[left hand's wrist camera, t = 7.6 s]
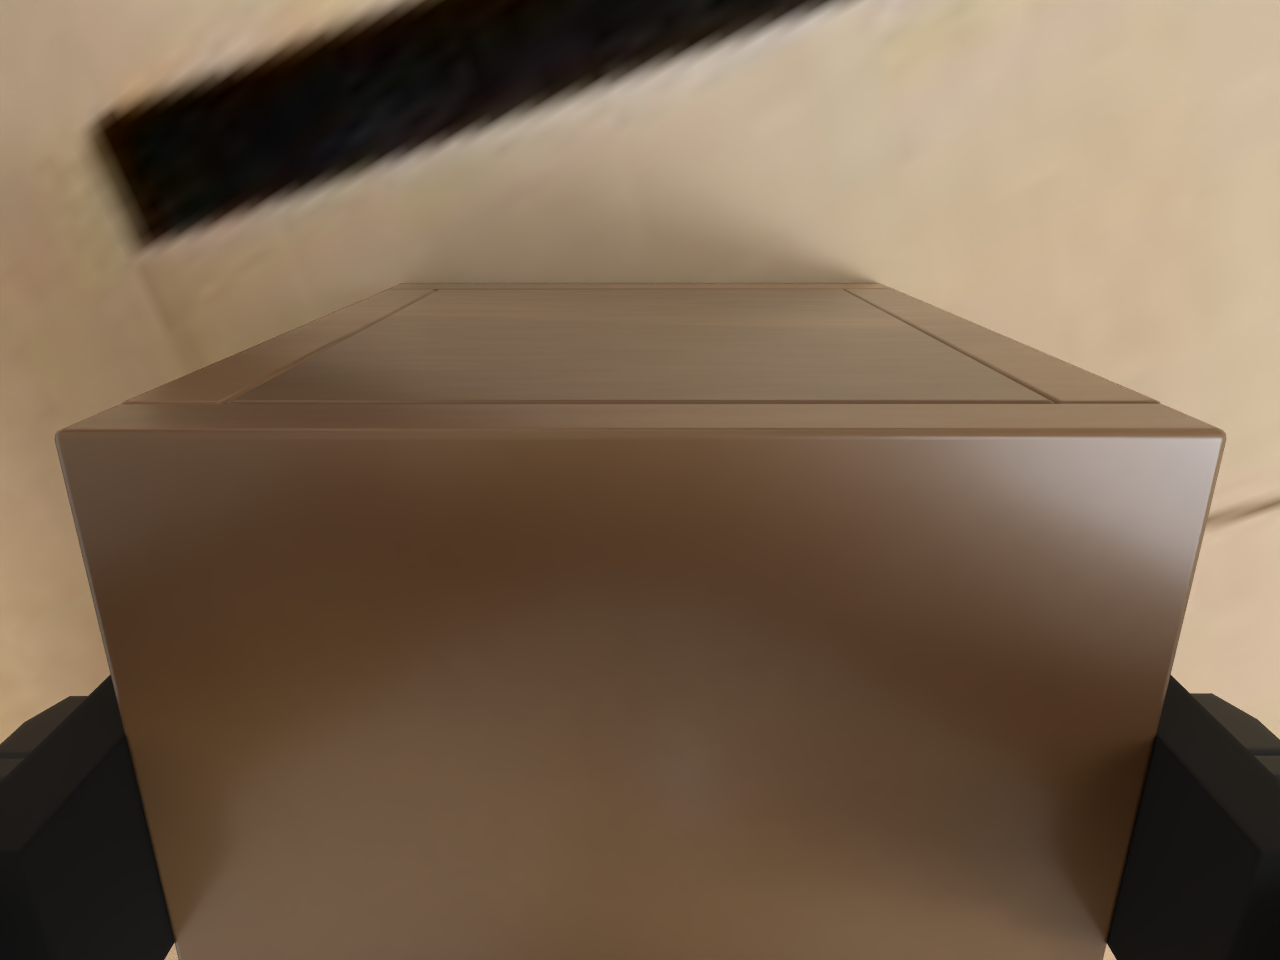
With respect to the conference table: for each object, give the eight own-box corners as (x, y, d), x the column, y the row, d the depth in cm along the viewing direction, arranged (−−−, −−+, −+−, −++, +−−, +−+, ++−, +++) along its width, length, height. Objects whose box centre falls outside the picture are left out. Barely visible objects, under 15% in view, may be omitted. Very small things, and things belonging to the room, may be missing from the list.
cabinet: (824, 901, 24) (978, 1497, 13) (456, 901, 24) (304, 1496, 13) (881, 283, 18) (1232, 430, 7) (399, 283, 18) (47, 431, 7)
